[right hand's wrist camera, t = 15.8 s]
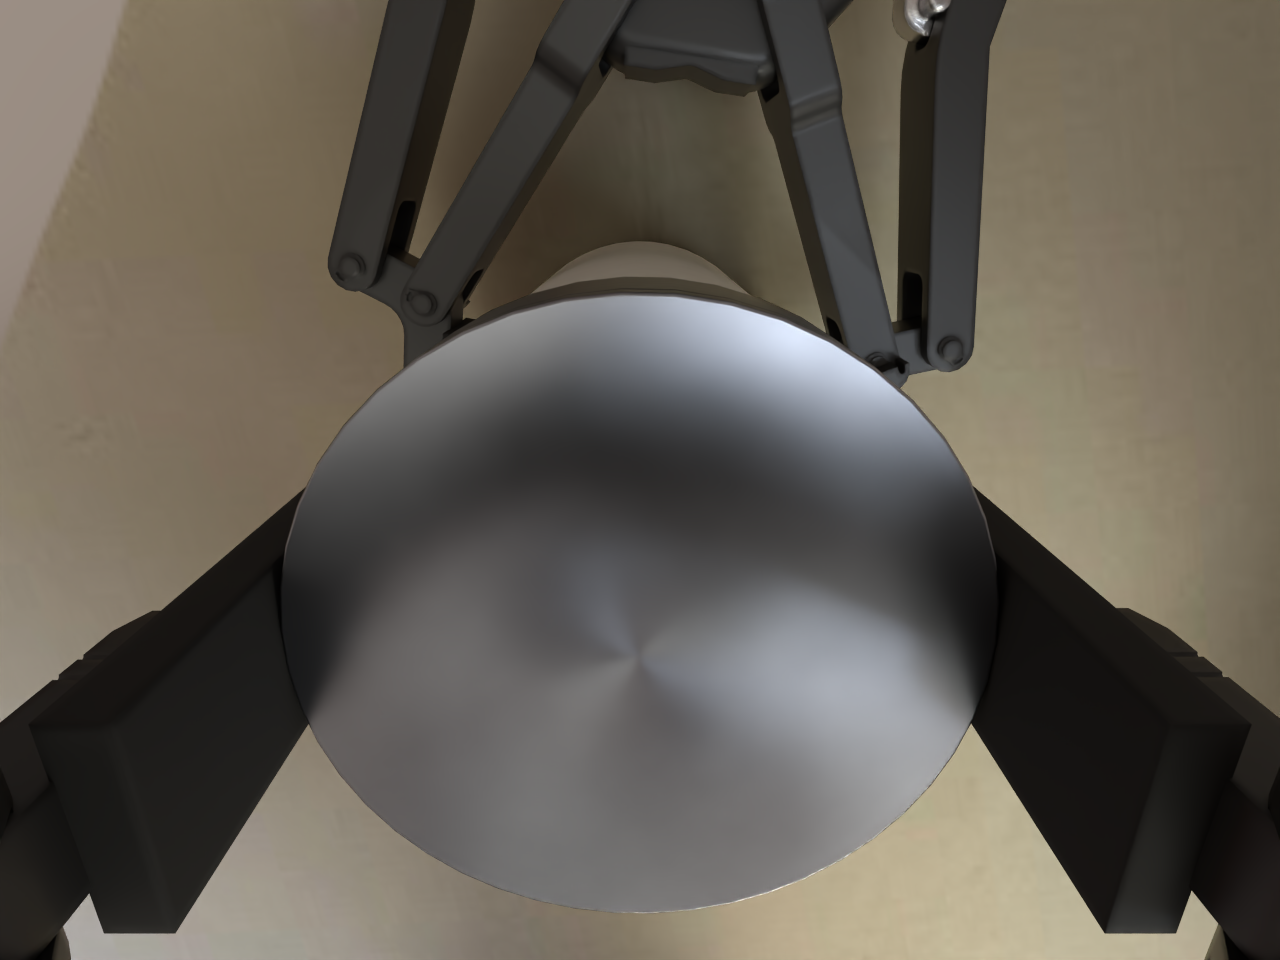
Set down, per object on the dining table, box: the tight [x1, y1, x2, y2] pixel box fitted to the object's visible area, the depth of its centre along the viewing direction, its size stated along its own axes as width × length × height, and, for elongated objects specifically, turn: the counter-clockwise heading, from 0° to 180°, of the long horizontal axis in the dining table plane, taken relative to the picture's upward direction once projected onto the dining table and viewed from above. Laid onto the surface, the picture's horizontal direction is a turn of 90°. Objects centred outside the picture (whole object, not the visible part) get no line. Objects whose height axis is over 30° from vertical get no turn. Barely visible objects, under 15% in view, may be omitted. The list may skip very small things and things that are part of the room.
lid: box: [280, 277, 999, 913], centre depth 11 cm, size 10×10×2 cm
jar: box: [529, 241, 750, 295], centre depth 19 cm, size 9×9×17 cm
